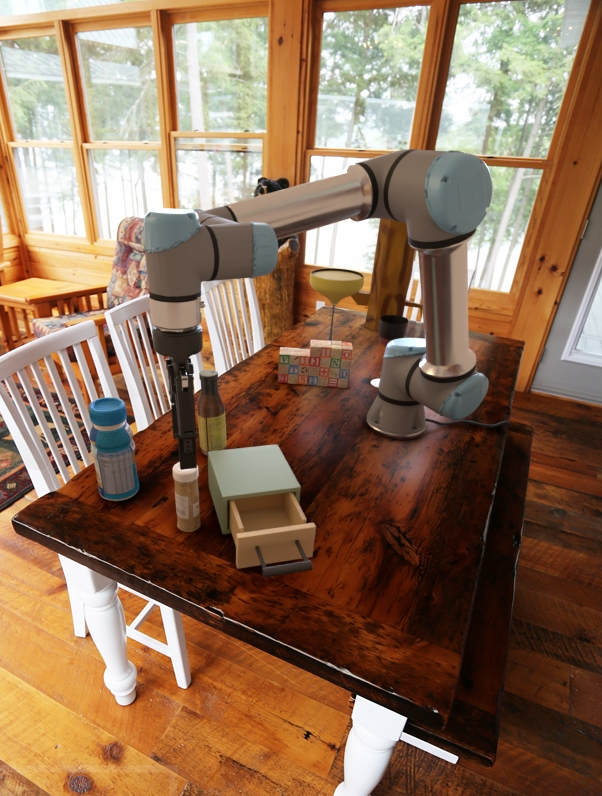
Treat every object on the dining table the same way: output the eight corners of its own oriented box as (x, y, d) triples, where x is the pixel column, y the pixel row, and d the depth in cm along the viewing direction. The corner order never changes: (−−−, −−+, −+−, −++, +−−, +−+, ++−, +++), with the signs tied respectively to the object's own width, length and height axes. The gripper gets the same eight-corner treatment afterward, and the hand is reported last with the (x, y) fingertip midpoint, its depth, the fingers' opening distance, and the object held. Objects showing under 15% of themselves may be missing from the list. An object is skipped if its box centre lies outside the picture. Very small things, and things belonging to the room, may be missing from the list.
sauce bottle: (230, 447, 122) (230, 369, 111) (220, 460, 117) (219, 380, 106) (205, 442, 123) (203, 365, 113) (194, 454, 118) (190, 375, 108)
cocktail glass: (358, 356, 175) (368, 281, 162) (305, 354, 175) (312, 279, 162) (351, 338, 190) (360, 269, 177) (303, 337, 190) (308, 267, 177)
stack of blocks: (277, 383, 154) (279, 344, 147) (278, 375, 159) (280, 337, 153) (347, 388, 153) (353, 349, 146) (346, 380, 158) (352, 341, 151)
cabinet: (297, 523, 99) (300, 487, 94) (222, 534, 95) (222, 497, 90) (275, 478, 111) (277, 444, 107) (208, 486, 108) (207, 451, 103)
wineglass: (367, 386, 154) (377, 321, 143) (373, 376, 161) (383, 313, 150) (393, 391, 152) (405, 325, 141) (398, 380, 159) (410, 317, 148)
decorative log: (360, 209, 192) (442, 216, 185) (347, 316, 214) (419, 325, 207) (354, 214, 180) (441, 221, 173) (340, 326, 203) (417, 336, 195)
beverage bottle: (119, 508, 101) (105, 419, 90) (89, 493, 105) (73, 406, 94) (148, 487, 107) (139, 402, 96) (119, 474, 111) (107, 390, 100)
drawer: (326, 584, 84) (330, 554, 80) (246, 598, 81) (247, 567, 77) (288, 507, 101) (290, 478, 98) (221, 516, 98) (221, 487, 95)
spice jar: (205, 528, 97) (202, 469, 89) (183, 536, 94) (179, 476, 87) (194, 515, 100) (191, 457, 93) (172, 522, 98) (168, 464, 90)
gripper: (214, 349, 68) (217, 485, 80) (191, 303, 86) (196, 420, 98) (157, 352, 66) (169, 491, 78) (146, 304, 84) (157, 423, 96)
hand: (184, 451), depth 88 cm, fingers open, 9 cm apart
